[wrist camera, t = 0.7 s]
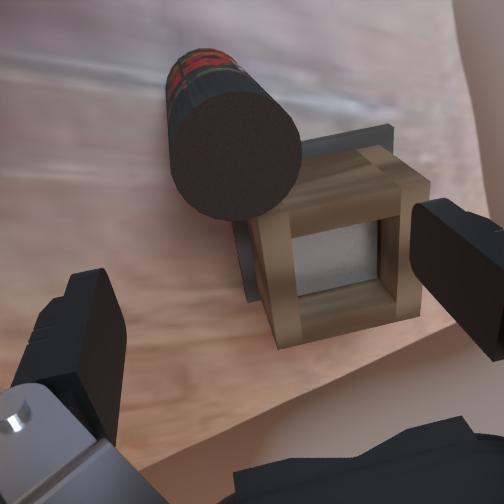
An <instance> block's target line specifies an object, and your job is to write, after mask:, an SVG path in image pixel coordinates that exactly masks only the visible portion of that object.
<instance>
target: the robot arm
mask: <svg viewBox="0 0 504 504" xmlns="http://www.w3.org/2000/svg"><path fill="white" fill-rule="evenodd" d="M409 260H410V265H411V268H412V271H413V273H414V275H415V276H416V278H417V279H418V280H419V281H420V282H421V283H422V284H423V285H424V286H425V288H426V289H427V290H428V291H429V292H430V293H431V294H432V295H433V296H434V297H435V299H436V300H437V301H438V302H439V303H440V304H441V305H442V306H443V307H444V309H445V310H446V311H447V312H448V313H449V314H450V315H451V316H452V317H453V318H454V320H455V321H456V322H457V323H458V324H459V325H460V326H461V327H462V328H463V330H464V331H465V332H466V333H467V334H468V335H469V336H470V337H471V338H472V339H473V340H474V342H475V343H476V344H477V345H478V346H479V347H480V348H481V349H482V350H483V352H484V353H485V354H486V355H487V356H488V357H489V358H490V359H491V360H492V362H494V361H499V360H503V359H504V231H503V228H502V227H500V226H498V225H497V224H496V223H494V222H493V221H491V220H490V219H488V218H485V217H483V216H480V215H477V214H474V213H471V212H466V211H464V210H463V209H461V208H460V207H459V206H457V205H456V204H454V203H453V202H452V201H450V200H449V199H447V198H439V199H435V200H430V201H425V202H420V203H416V204H415V205H414V206H413V208H412V213H411V230H410V248H409ZM28 342H29V345H27V346H26V349H25V351H24V354H23V357H22V359H21V362H20V364H19V367H18V369H17V372H16V374H15V377H14V379H13V382H12V384H11V387H10V388H9V389H7V390H5V391H3V392H1V393H0V504H169V503H168V502H167V501H166V500H165V499H164V498H163V497H162V496H161V495H160V494H159V493H158V492H157V490H156V489H155V488H154V487H153V486H152V485H151V484H150V483H149V482H148V481H147V480H146V479H145V478H144V477H143V476H142V475H141V474H140V473H139V472H138V471H137V470H136V469H135V468H134V467H133V466H132V465H131V464H130V463H129V462H128V461H127V460H126V458H125V457H124V456H123V455H122V454H121V453H120V452H119V451H118V450H117V449H116V448H115V446H116V436H117V427H118V418H119V408H120V399H121V390H122V380H123V371H124V362H125V352H126V343H127V333H126V326H125V321H124V318H123V315H122V312H121V309H120V307H119V304H118V301H117V299H116V296H115V293H114V291H113V288H112V285H111V283H110V280H109V277H108V275H107V273H106V271H105V270H104V269H103V268H99V269H94V270H89V271H85V272H80V273H75V274H72V275H71V276H70V279H69V282H68V285H67V288H66V291H65V294H64V296H62V297H57V298H53V299H52V300H51V301H50V303H49V304H48V305H47V306H46V307H45V308H44V309H43V310H42V311H41V312H40V313H39V316H38V318H37V321H36V323H35V326H34V332H32V334H31V336H30V339H29V341H28ZM233 478H234V485H235V491H236V492H235V493H233V494H231V495H229V496H228V497H226V498H224V499H223V500H222V501H220V502H219V503H217V504H504V437H502V436H497V435H490V434H481V433H474V432H473V431H472V429H471V428H470V427H469V425H468V424H467V422H466V421H465V420H464V418H463V417H462V416H457V417H453V418H449V419H446V420H441V421H437V422H433V423H429V424H425V425H421V426H417V427H413V428H409V429H406V430H405V431H403V432H401V433H399V434H397V435H395V436H394V437H392V438H390V439H388V440H387V441H385V442H383V443H381V444H379V445H378V446H376V447H374V448H372V449H370V450H369V451H367V452H365V453H363V454H362V455H359V456H357V457H353V458H289V459H285V460H281V461H277V462H273V463H269V464H265V465H261V466H257V467H254V468H249V469H245V470H241V471H237V472H233Z"/></svg>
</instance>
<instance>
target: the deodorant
mask: <svg viewBox="0 0 504 504" xmlns="http://www.w3.org/2000/svg"><path fill="white" fill-rule="evenodd" d="M166 103H167V121H168V139H169V157H170V167H171V175H172V177H173V180H174V182H175V185H176V187H177V190H178V191H179V192H180V194H181V195H182V196H183V198H184V199H185V200H186V202H187V203H188V204H190V205H191V206H192V207H193V208H195V209H196V210H197V211H199V212H200V213H202V214H204V215H207V216H209V217H211V218H214V219H219V220H225V221H242V220H248V219H251V218H255V217H258V216H261V215H263V214H265V213H266V212H268V211H269V210H271V209H273V208H274V207H276V206H277V205H278V204H279V203H280V202H281V201H282V200H283V199H284V198H285V197H286V196H287V195H288V194H289V192H290V190H291V189H292V187H293V186H294V184H295V182H296V180H297V177H298V174H299V171H300V168H301V162H302V145H301V140H300V135H299V132H298V130H297V128H296V126H295V124H294V122H293V120H292V118H291V117H290V116H289V115H288V114H287V113H286V111H285V110H284V109H283V108H282V107H281V106H280V105H279V104H278V103H277V102H276V101H275V100H274V99H273V98H272V97H271V96H270V95H269V94H268V93H267V92H266V91H265V90H264V89H263V88H262V87H261V86H260V85H259V84H258V83H257V82H256V81H255V80H254V79H253V78H252V77H251V76H250V75H249V74H248V73H247V72H246V71H245V70H244V69H243V68H242V67H241V66H240V65H239V64H238V63H237V62H236V61H235V60H234V59H233V58H232V57H230V56H229V55H227V54H225V53H224V52H222V51H219V50H215V49H211V48H201V49H196V50H193V51H190V52H188V53H187V54H185V55H184V56H182V57H181V58H179V59H178V61H177V62H176V63H175V64H174V65H173V67H172V68H171V71H170V73H169V75H168V77H167V84H166Z"/></svg>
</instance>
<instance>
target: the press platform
mask: <svg viewBox="0 0 504 504" xmlns="http://www.w3.org/2000/svg"><path fill="white" fill-rule="evenodd" d="M291 241H292V250H293V259H294V268H295V277H296V286H297V295H298V296H301V295H305V294H310V293H314V292H318V291H323V290H327V289H332V288H336V287H340V286H345V285H349V284H354V283H358V282H362V281H367V280H371V279H375V278H377V220H375V221H370V222H365V223H361V224H356V225H352V226H347V227H343V228H338V229H333V230H329V231H324V232H320V233H315V234H310V235H306V236H301V237H297V238H292V239H291Z"/></svg>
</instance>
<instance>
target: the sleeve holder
mask: <svg viewBox="0 0 504 504" xmlns="http://www.w3.org/2000/svg"><path fill="white" fill-rule="evenodd" d="M393 139H394V127H393V126H391V125H389V124H385V125H380V126H375V127H370V128H365V129H360V130H355V131H350V132H345V133H340V134H335V135H330V136H325V137H320V138H315V139H310V140H305V141H301V145H302V162H301V168H300V171H299V174H298V177H297V180H296V182H295V184H294V186H293V187H292V189H291V190H290V192H289V194H288V195H287V196H286V197H285V198H284V199H283V200H282V201H281V202H280V203H279V204H278V205H277V206H276V207H274V208H273V209H271V210H269V211H268V212H266V213H265V214H263V215H261V216H258V217H255V218H251V219H248V220H242V221H232V226H233V231H234V236H235V242H236V247H237V252H238V257H239V263H240V268H241V273H242V278H243V284H244V289H245V294H246V298H247V302H248V303H249V302H254V301H258V300H262V302H263V305H264V309H265V312H266V315H267V318H268V321H269V324H270V327H271V330H272V333H273V336H274V339H275V342H276V346H277V349H278V350H280V349H284V348H288V347H292V346H296V345H301V344H305V343H309V342H313V341H318V340H322V339H326V338H330V337H335V336H339V335H343V334H347V333H351V332H356V331H360V330H364V329H368V328H373V327H377V326H381V325H385V324H389V323H394V322H398V321H402V320H406V319H411V318H415V317H419V316H420V309H421V296H422V283H421V282H420V281H419V280H418V279H417V278H416V276H415V275H414V273H413V271H412V268H411V265H410V260H409V248H410V230H411V213H412V208H413V206H414V205H415V204H416V203H420V202H425V201H429V195H430V181H429V180H428V179H426V178H425V177H423V176H422V175H421V174H419V173H418V172H417V171H415V170H414V169H412V168H411V167H410V166H408V165H407V164H405V163H404V162H403V161H401V160H400V159H398V158H397V157H396V156H394V155H393ZM375 220H377V278H375V279H371V280H367V281H362V282H358V283H354V284H349V285H345V286H340V287H336V288H332V289H327V290H323V291H318V292H314V293H310V294H305V295H301V296H298V295H297V286H296V277H295V268H294V259H293V250H292V241H291V239H292V238H297V237H301V236H306V235H310V234H315V233H320V232H324V231H329V230H333V229H338V228H343V227H347V226H352V225H356V224H361V223H365V222H370V221H375Z"/></svg>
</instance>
